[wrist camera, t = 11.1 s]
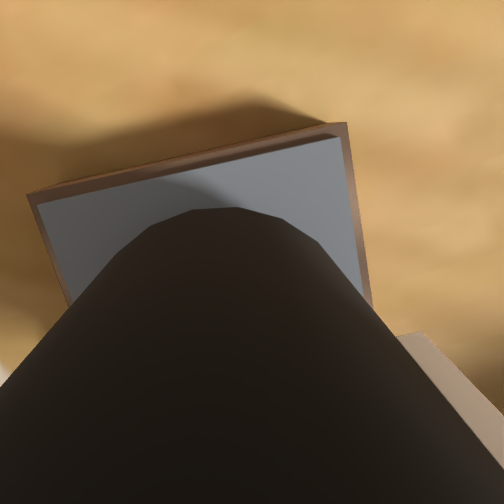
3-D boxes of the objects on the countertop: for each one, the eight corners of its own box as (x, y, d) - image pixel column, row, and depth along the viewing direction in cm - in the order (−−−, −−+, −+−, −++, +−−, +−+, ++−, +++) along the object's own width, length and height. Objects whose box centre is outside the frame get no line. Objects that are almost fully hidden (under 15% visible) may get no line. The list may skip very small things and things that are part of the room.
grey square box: (364, 360, 25) (389, 402, 21) (137, 411, 25) (122, 462, 22) (327, 122, 21) (350, 122, 17) (57, 184, 21) (20, 196, 17)
